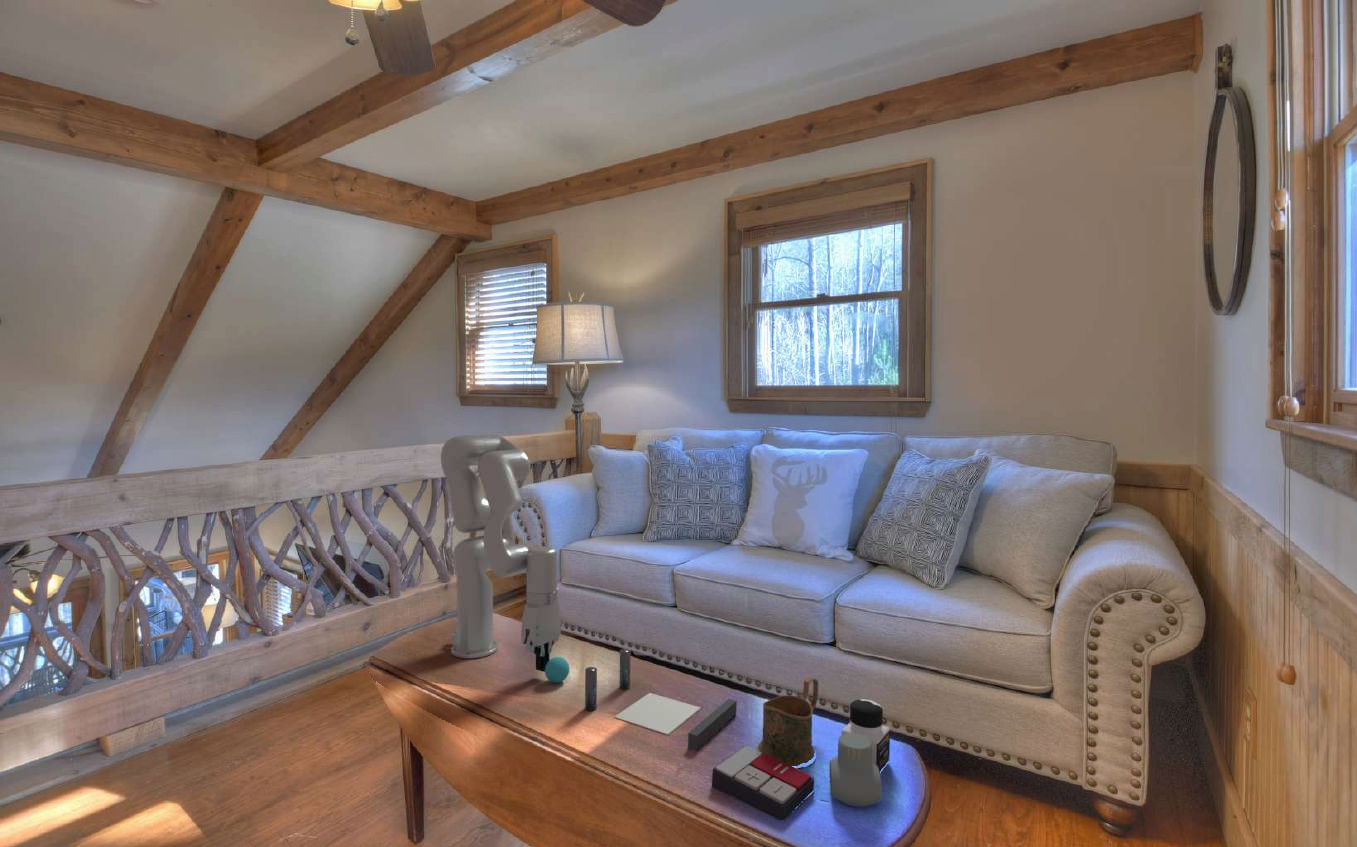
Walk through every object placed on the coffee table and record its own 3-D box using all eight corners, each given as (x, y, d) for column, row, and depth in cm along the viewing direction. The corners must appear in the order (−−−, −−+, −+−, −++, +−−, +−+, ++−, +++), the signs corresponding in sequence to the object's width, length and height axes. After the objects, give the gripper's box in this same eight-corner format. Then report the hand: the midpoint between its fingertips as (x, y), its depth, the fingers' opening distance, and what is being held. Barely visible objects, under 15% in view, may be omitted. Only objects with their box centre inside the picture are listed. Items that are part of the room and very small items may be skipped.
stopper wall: (688, 747, 129) (688, 732, 129) (728, 711, 144) (728, 698, 144) (696, 750, 128) (696, 735, 128) (736, 714, 143) (736, 700, 143)
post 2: (617, 687, 156) (617, 651, 155) (623, 684, 158) (624, 647, 158) (626, 690, 154) (626, 653, 154) (632, 686, 156) (632, 650, 156)
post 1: (582, 709, 144) (582, 669, 144) (589, 704, 147) (590, 666, 146) (591, 712, 143) (591, 672, 143) (598, 707, 145) (599, 668, 145)
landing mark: (614, 717, 141) (614, 716, 141) (649, 693, 153) (649, 692, 153) (668, 735, 133) (668, 734, 133) (700, 708, 145) (700, 707, 145)
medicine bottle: (876, 780, 118) (878, 716, 118) (840, 766, 123) (841, 704, 122) (889, 763, 124) (891, 702, 124) (854, 751, 128) (855, 691, 128)
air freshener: (828, 776, 119) (829, 723, 119) (874, 781, 118) (875, 727, 118) (832, 812, 109) (833, 754, 108) (882, 818, 107) (883, 759, 107)
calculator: (784, 803, 106) (711, 765, 115) (782, 827, 106) (710, 787, 116) (815, 774, 114) (745, 741, 124) (814, 797, 114) (744, 762, 124)
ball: (539, 683, 158) (539, 659, 157) (556, 674, 163) (556, 651, 163) (557, 689, 154) (558, 664, 154) (574, 680, 160) (574, 656, 159)
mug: (840, 739, 133) (841, 682, 132) (797, 776, 119) (798, 712, 119) (791, 721, 140) (792, 667, 140) (746, 754, 127) (747, 694, 126)
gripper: (551, 588, 169) (551, 657, 169) (509, 602, 156) (509, 676, 157) (573, 592, 165) (573, 662, 165) (531, 607, 152) (532, 683, 153)
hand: (542, 669), depth 161 cm, fingers closed
